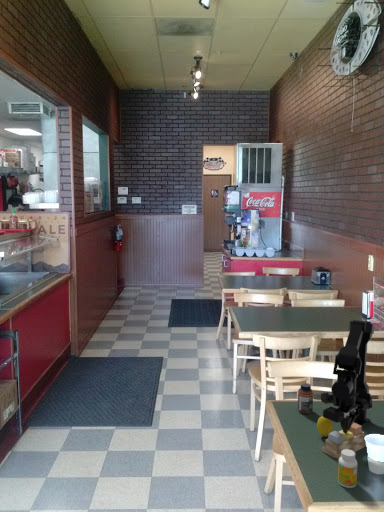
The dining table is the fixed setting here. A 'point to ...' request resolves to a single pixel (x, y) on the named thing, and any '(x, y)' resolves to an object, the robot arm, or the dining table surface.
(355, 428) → the button terracotta
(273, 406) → the dining table surface
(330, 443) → the button board
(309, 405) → the supplement bottle
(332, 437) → the button slate
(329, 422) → the lemon
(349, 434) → the button yellow
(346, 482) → the supplement bottle
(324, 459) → the dining table surface
